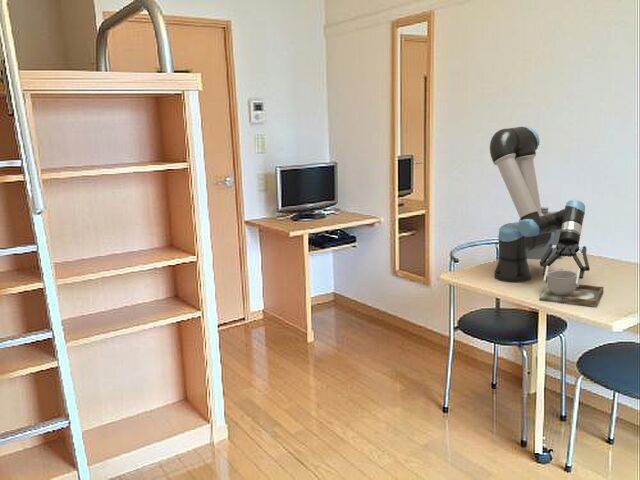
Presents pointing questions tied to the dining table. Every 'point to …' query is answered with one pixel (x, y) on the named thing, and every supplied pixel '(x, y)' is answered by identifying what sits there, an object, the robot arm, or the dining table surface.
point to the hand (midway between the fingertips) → (560, 283)
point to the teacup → (561, 281)
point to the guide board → (576, 296)
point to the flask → (540, 252)
